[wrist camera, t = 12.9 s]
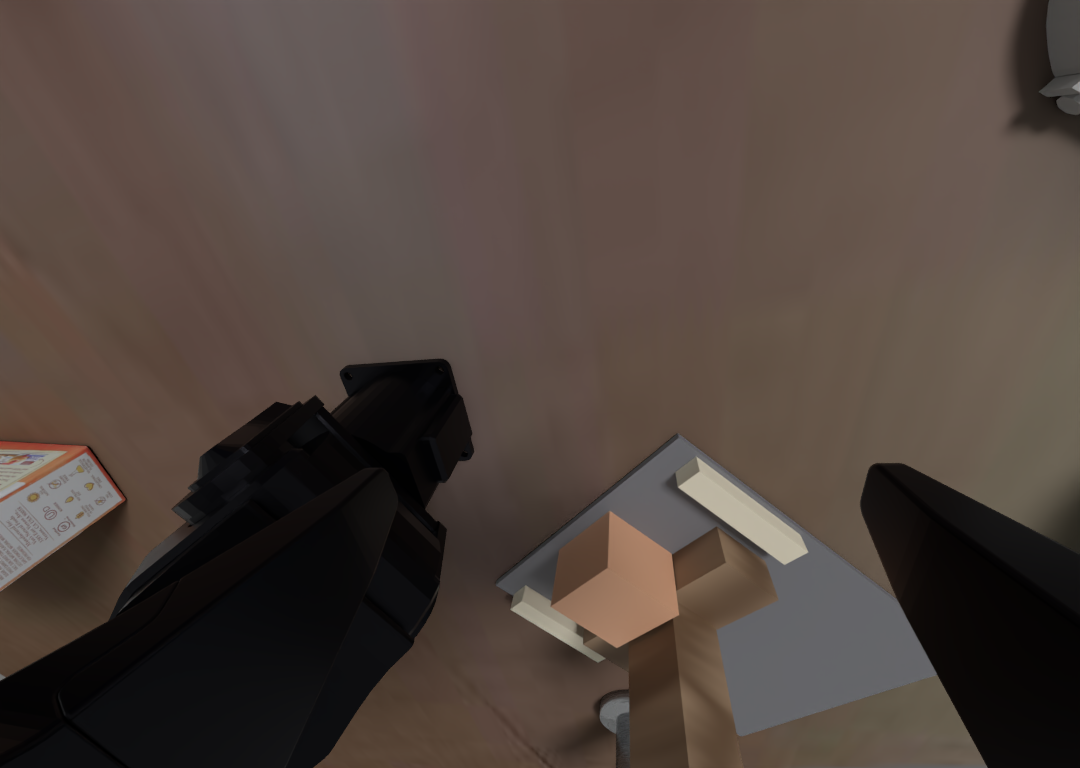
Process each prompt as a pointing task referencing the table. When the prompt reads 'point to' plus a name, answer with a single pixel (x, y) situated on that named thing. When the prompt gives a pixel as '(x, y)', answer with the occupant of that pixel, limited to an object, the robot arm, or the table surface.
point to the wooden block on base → (690, 658)
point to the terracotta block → (615, 581)
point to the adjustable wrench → (1064, 54)
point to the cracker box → (47, 501)
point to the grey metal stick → (618, 723)
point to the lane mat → (769, 633)
